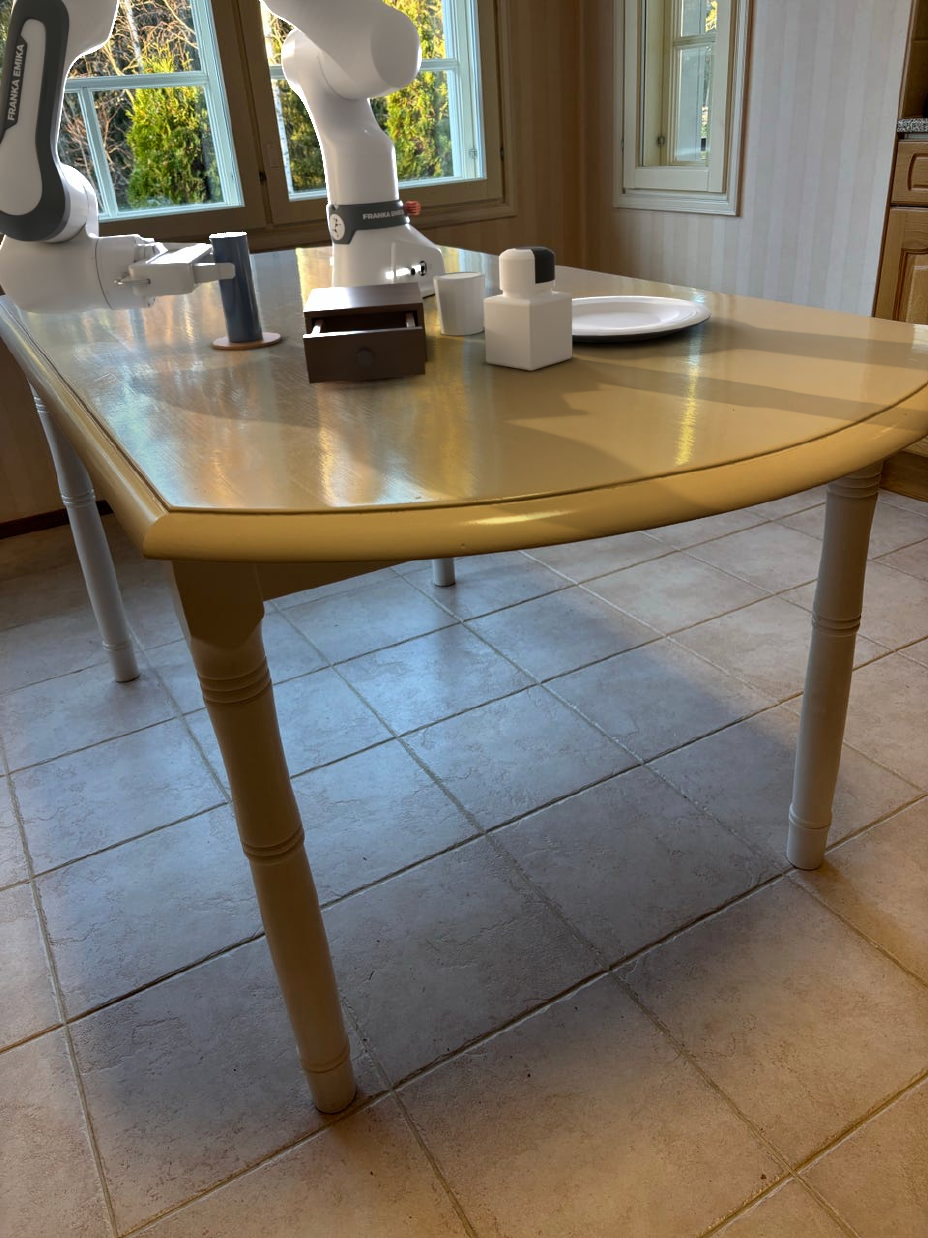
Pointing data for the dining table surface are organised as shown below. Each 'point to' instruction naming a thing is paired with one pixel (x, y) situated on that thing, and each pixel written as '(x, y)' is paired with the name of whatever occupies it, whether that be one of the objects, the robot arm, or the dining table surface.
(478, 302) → the white cup
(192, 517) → the dining table surface
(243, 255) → the cylinder
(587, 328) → the plate
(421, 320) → the cabinet
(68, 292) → the robot arm
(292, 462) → the dining table surface
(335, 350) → the drawer
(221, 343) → the coaster
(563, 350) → the medicine bottle
